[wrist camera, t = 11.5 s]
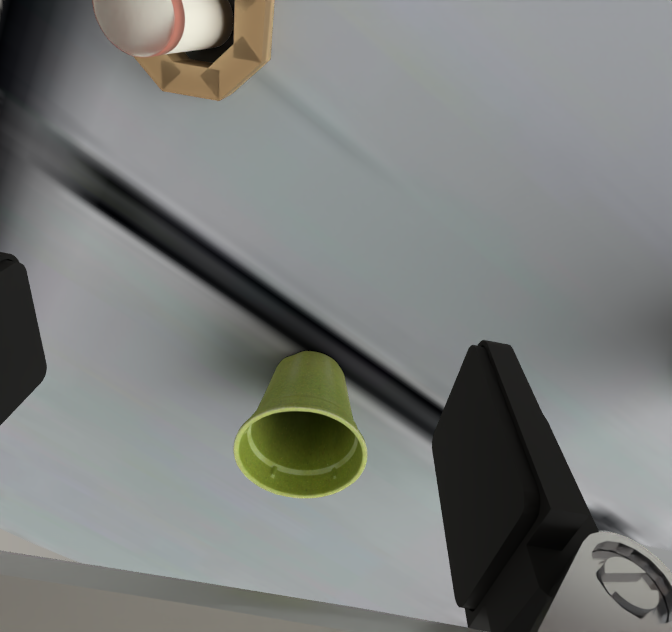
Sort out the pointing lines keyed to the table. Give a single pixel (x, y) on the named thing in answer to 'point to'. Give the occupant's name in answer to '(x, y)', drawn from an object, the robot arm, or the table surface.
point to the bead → (230, 67)
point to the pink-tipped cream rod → (164, 25)
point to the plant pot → (302, 431)
